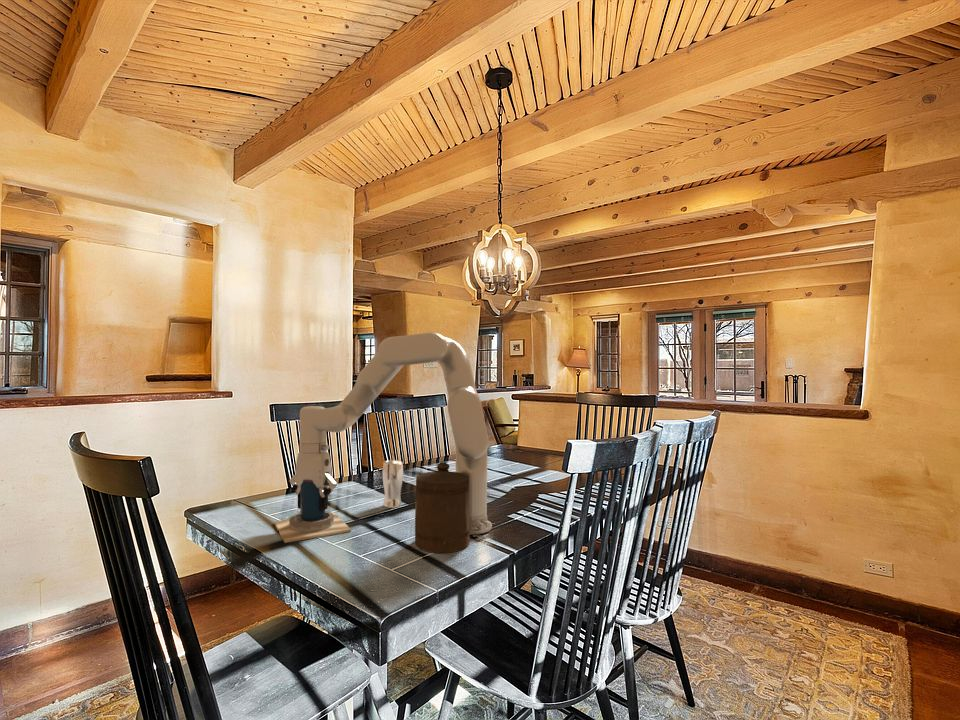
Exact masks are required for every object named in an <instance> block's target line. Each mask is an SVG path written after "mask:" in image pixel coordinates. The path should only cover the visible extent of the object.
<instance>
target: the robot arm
mask: <svg viewBox="0 0 960 720" xmlns="http://www.w3.org/2000/svg"><path fill="white" fill-rule="evenodd" d="M428 363H437V364H439V365H440V367H441V369H442V373H443V377H444V381H445V386H446V391H447V397H448V398H447V412H448V417H449V421H450V422H449V423H450V427H451V431H452V435H453V441H454V446H455V472H459V473H463V474H466V475H468V476H469V510H470V529H469V532H470V535H479V534H480V535H481V534H486V533H488V532H490V531H491V530H492V527H493V524H492V522H491V521H489V520H488V515H487V512H488V509H487V508H488V505H487V503H488V448H489V443H490V441H489V435H488V428H487V424H486V421H485V415H484V409H483V405H482V402H481V398H480V396H479V393H478V392H477V387H476V382H475V378H474V375H473V370H472V367H471V362H470V359H469V357H468V354H467V353H466V351H465V349H464V348H463V347H462V346H461V344H459V343H458V342H456V341H455V340H454V339H451V338H450V337H447V336H443V335H442V334H440V333H438V332H433V331H432V332H424V333H416V334H415V333H413V334H408V335H407V334H406V335H400V336H399V335H398V336H389V337H386V338H384V339H383V340H382V341H381V342H380V343H379V345H378V349H377V352H376V353H375V354H374V355H373V357H372V358H371V359H370V360H369V361H368V363H367V364H365V366H364V367H363V368H362V370H361V371H360V372H359V373H358V375H357V376H356V382H355V384H354V385H353V387H352V389H351V390H350V391H349V393H348V394H347V395H346V396H345V397H344V399H342V401H341V402H340V403H339V404H338V405H335V406H332V407H324V406H320V405H316V406H315V405H311V406H304V407H301V408H300V410H299V452H298V453H297V457H296V461H295V471H294V473H295V474H294V475H293V476H292V477H291V478H290V479H289V481H288V482H289V483H290V485H291V486H292V489H293V490H294V491H295V494H296V495H297V509H298V510H300V498H301V484H302V482H303V480H306V481H313V483H314V484H315V485H316V487H317V488H319V493H320V495H321V497H320V498H319V511H323V510H325V511H326V510H328V506H329V496H330V495H331V493H332V492H333V490H334V489H335V488H337V486H338V484H337V482H336V481H335V480H334V478H333V473H332V472H333V471H332V462H331V456H330V453H329V452H328V450H329V449H330V446H329V444H327V432H329V433H341V432H343V431H346V430H347V429H349V428H351V427H352V426H353V425H354V424H355V423H357V421H358V420H359V419H360V417H362V415H364V413H365V412H366V411H367V410H368V409H369V407H370V406H371V405H372V404H373V402H374V401H375V400H376V399H377V398H378V397H379V395H381V393H382V392H383V390H384V389H386V387H387V386H388V385H389V383H390V382H391V381H392V380H393V379H394V377H395V376H397V374H398V373H399V372H400V371H401V369H402V368H403V367H404V366H413V365H420V364H428ZM323 488H324V490H323Z"/></svg>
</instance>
